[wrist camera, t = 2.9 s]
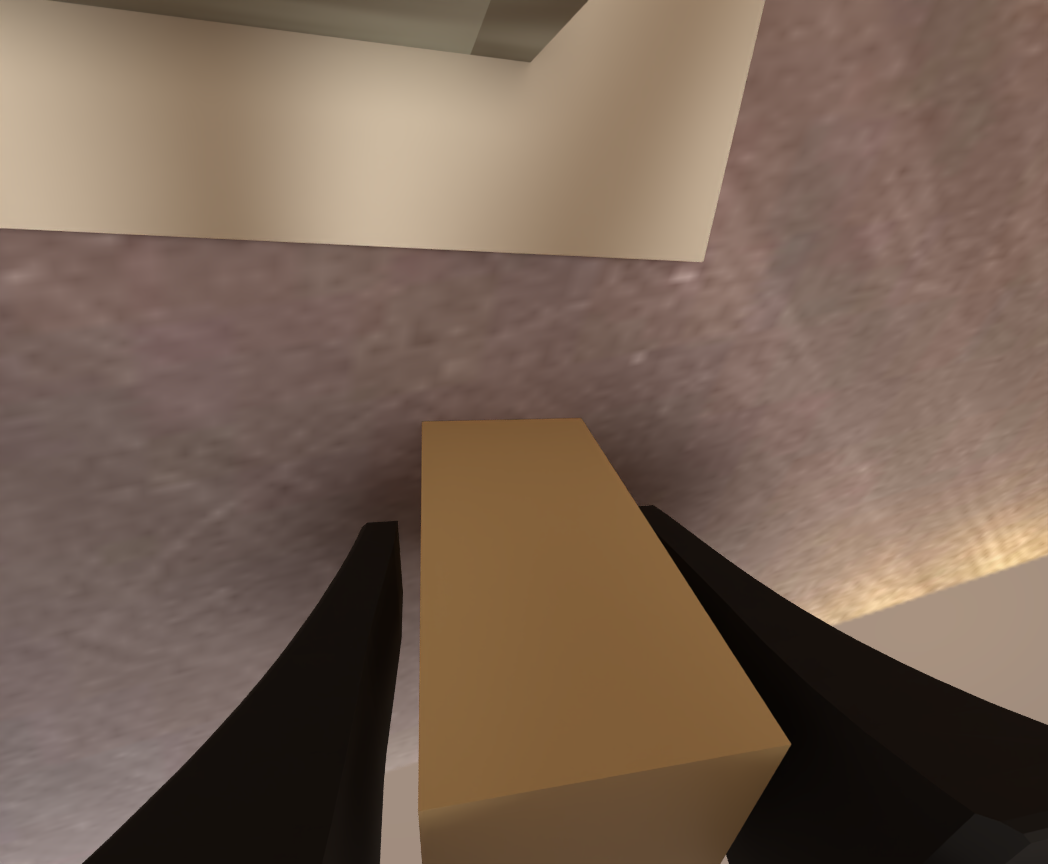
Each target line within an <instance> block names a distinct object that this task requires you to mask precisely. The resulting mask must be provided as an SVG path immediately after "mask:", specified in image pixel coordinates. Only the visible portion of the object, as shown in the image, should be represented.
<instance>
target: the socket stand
mask: <svg viewBox="0 0 1048 864" xmlns="http://www.w3.org/2000/svg"><path fill="white" fill-rule="evenodd" d="M764 3H765V0H0V228H10V229H30V230H51V231H72V232H92V233H113V234H133V235H154V236H175V237H195V238H216V239H237V240H257V241H278V242H299V243H319V244H340V245H361V246H381V247H402V248H423V249H443V250H464V251H485V252H505V253H526V254H547V255H567V256H588V257H609V258H629V259H650V260H671V261H691V262H703V261H704V257H705V252H706V248H707V244H708V240H709V235H710V231H711V227H712V223H713V219H714V214H715V210H716V206H717V202H718V197H719V193H720V189H721V185H722V181H723V176H724V172H725V168H726V164H727V159H728V155H729V151H730V147H731V143H732V138H733V134H734V130H735V126H736V121H737V117H738V113H739V109H740V105H741V100H742V96H743V92H744V88H745V83H746V79H747V75H748V71H749V66H750V62H751V58H752V54H753V50H754V45H755V41H756V37H757V33H758V28H759V24H760V20H761V16H762V12H763V7H764Z"/></svg>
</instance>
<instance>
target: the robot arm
mask: <svg viewBox="0 0 1048 864" xmlns="http://www.w3.org/2000/svg"><path fill="white" fill-rule="evenodd" d="M638 507H639V509H640V510H641V512H642V513H643V515H644V516H645V518H646V520H647V521H648V523H649V524H650V526H651V527H652V529H653V530H654V532H655V533H656V535H657V537H658V538H659V540H660V541H661V543H662V544H663V546H664V547H665V549H666V551H667V552H668V554H669V555H670V557H671V558H672V560H673V561H674V563H675V565H676V566H677V568H678V569H679V571H680V572H681V574H682V575H683V577H684V578H685V580H686V582H687V583H688V585H689V586H690V588H691V589H692V591H693V592H694V594H695V596H696V597H697V599H698V600H699V602H700V603H701V605H702V606H703V608H704V610H705V611H706V613H707V614H708V616H709V617H710V619H711V620H712V622H713V623H714V625H715V627H716V628H717V630H718V631H719V633H720V634H721V636H722V637H723V639H724V641H725V642H726V644H727V645H728V647H729V648H730V650H731V651H732V653H733V655H734V656H735V658H736V659H737V661H738V662H739V664H740V665H741V667H742V668H743V670H744V672H745V673H746V675H747V676H748V678H749V679H750V681H751V682H752V684H753V686H754V687H755V689H756V690H757V692H758V693H759V695H760V696H761V698H762V700H763V701H764V703H765V704H766V706H767V707H768V709H769V710H770V712H771V713H772V715H773V717H774V718H775V720H776V721H777V723H778V724H779V726H780V727H781V729H782V731H783V732H784V734H785V735H786V737H787V738H788V740H789V741H790V743H791V746H790V747H789V749H788V751H787V752H786V754H785V756H784V757H783V759H782V761H781V763H780V764H779V766H778V768H777V769H776V771H775V773H774V774H773V776H772V778H771V779H770V781H769V783H768V784H767V786H766V788H765V789H764V791H763V793H762V794H761V796H760V798H759V800H758V801H757V803H756V805H755V806H754V808H753V810H752V811H751V813H750V815H749V816H748V818H747V820H746V821H745V823H744V825H743V826H742V828H741V830H740V831H739V833H738V835H737V837H736V838H735V840H734V842H733V843H732V845H731V847H730V848H729V850H728V852H727V853H726V855H727V859H728V862H729V864H1048V725H1046V724H1044V723H1041V722H1039V721H1036V720H1033V719H1031V718H1028V717H1026V716H1023V715H1021V714H1018V713H1015V712H1013V711H1010V710H1007V709H1005V708H1002V707H1000V706H997V705H995V704H993V703H990V702H988V701H985V700H983V699H981V698H978V697H976V696H974V695H972V694H969V693H967V692H964V691H962V690H960V689H958V688H956V687H953V686H951V685H949V684H946V683H944V682H942V681H940V680H937V679H935V678H933V677H931V676H929V675H926V674H924V673H922V672H920V671H918V670H916V669H914V668H912V667H909V666H907V665H905V664H903V663H901V662H899V661H897V660H895V659H893V658H891V657H889V656H887V655H885V654H883V653H881V652H879V651H877V650H875V649H873V648H871V647H869V646H867V645H865V644H863V643H861V642H860V641H857V640H856V639H854V638H852V637H850V636H848V635H846V634H845V633H843V632H841V631H839V630H837V629H836V628H834V627H832V626H830V625H829V624H827V623H825V622H824V621H822V620H820V619H818V618H817V617H815V616H813V615H811V614H810V613H808V612H806V611H805V610H803V609H801V608H800V607H798V606H796V605H795V604H793V603H791V602H790V601H788V600H787V599H785V598H783V597H782V596H780V595H779V594H777V593H776V592H774V591H773V590H771V589H770V588H768V587H767V586H765V585H764V584H762V583H761V582H759V581H758V580H756V579H755V578H753V577H752V576H750V575H749V574H747V573H746V572H744V571H743V570H742V569H740V568H739V567H737V566H736V565H734V564H733V563H732V562H730V561H729V560H727V559H726V558H725V557H723V556H722V555H721V554H719V553H718V552H716V551H715V550H714V549H712V548H711V547H710V546H708V545H707V544H706V543H704V542H703V541H702V540H700V539H699V538H698V537H696V536H695V535H694V534H692V533H691V532H690V531H688V530H687V529H686V528H684V527H683V526H682V525H680V524H679V523H678V522H676V521H675V520H673V519H672V518H671V517H669V516H668V515H667V514H665V513H664V512H662V511H661V510H659V509H658V508H657V507H655V506H653V505H652V506H638ZM402 604H403V588H402V574H401V561H400V547H399V533H398V521H389V522H373V523H367V524H365V525H364V526H363V527H362V529H361V531H360V533H359V535H358V537H357V539H356V541H355V543H354V545H353V547H352V549H351V551H350V552H349V554H348V556H347V558H346V559H345V561H344V563H343V565H342V566H341V568H340V570H339V571H338V573H337V575H336V576H335V578H334V579H333V581H332V582H331V584H330V586H329V587H328V589H327V590H326V592H325V593H324V595H323V596H322V598H321V600H320V601H319V603H318V604H317V606H316V607H315V609H314V610H313V611H312V613H311V614H310V616H309V617H308V618H307V620H306V621H305V623H304V624H303V625H302V627H301V628H300V629H299V631H298V632H297V634H296V635H295V636H294V638H293V639H292V641H291V642H290V643H289V645H288V646H287V647H286V649H285V650H284V651H283V652H282V654H281V655H280V656H279V658H278V659H277V660H276V661H275V663H274V664H273V665H272V666H271V668H270V669H269V670H268V671H267V673H266V674H265V675H264V676H263V678H262V679H261V680H260V681H259V682H258V683H257V685H256V686H255V687H254V688H253V689H252V691H251V692H250V693H249V694H248V695H247V697H246V698H245V699H244V700H243V701H242V702H241V703H240V705H239V706H238V707H237V708H236V709H235V710H234V711H233V712H232V713H231V715H230V716H229V717H228V718H227V719H226V720H225V721H224V722H223V723H222V725H221V726H220V727H219V728H218V729H217V730H216V731H215V732H214V733H213V734H212V736H211V737H210V738H209V739H208V740H207V741H206V742H205V743H204V744H203V745H202V746H201V747H200V748H199V750H198V751H197V752H196V753H195V754H194V755H193V756H192V757H191V758H190V759H189V760H188V761H187V762H186V763H185V764H184V765H183V766H182V767H181V768H180V769H179V770H178V771H177V772H176V773H175V774H174V775H173V776H172V777H171V778H170V779H169V780H168V781H167V782H166V783H165V784H164V785H163V786H162V787H161V788H160V789H159V790H158V791H157V792H156V793H155V794H154V795H153V796H152V797H151V798H150V799H149V800H148V801H147V802H146V803H145V804H144V805H143V806H142V807H141V808H140V809H139V810H138V811H137V812H136V813H135V814H134V815H132V816H131V817H130V818H129V819H128V820H127V821H126V822H125V823H124V824H123V825H122V826H121V827H120V828H119V829H118V830H117V831H116V832H115V833H114V834H113V835H112V836H111V837H110V838H109V839H108V840H107V841H106V842H105V843H104V844H103V845H102V846H100V847H99V848H98V849H97V850H96V851H95V852H94V853H93V854H92V855H91V856H90V857H89V858H88V859H87V860H85V861H84V862H83V863H82V864H380V849H381V848H380V847H381V827H382V808H383V787H384V774H385V763H386V753H387V745H388V737H389V730H390V722H391V715H392V707H393V700H394V692H395V685H396V677H397V669H398V662H399V654H400V646H401V638H402Z"/></svg>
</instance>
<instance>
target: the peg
mask: <svg viewBox="0 0 1048 864" xmlns="http://www.w3.org/2000/svg"><path fill="white" fill-rule="evenodd" d="M790 746H791V743H790V741H789V740H788V738H787V737H786V735H785V734H784V732H783V731H782V729H781V727H780V726H779V724H778V723H777V721H776V720H775V718H774V717H773V715H772V713H771V712H770V710H769V709H768V707H767V706H766V704H765V703H764V701H763V700H762V698H761V696H760V695H759V693H758V692H757V690H756V689H755V687H754V686H753V684H752V682H751V681H750V679H749V678H748V676H747V675H746V673H745V672H744V670H743V668H742V667H741V665H740V664H739V662H738V661H737V659H736V658H735V656H734V655H733V653H732V651H731V650H730V648H729V647H728V645H727V644H726V642H725V641H724V639H723V637H722V636H721V634H720V633H719V631H718V630H717V628H716V627H715V625H714V623H713V622H712V620H711V619H710V617H709V616H708V614H707V613H706V611H705V610H704V608H703V606H702V605H701V603H700V602H699V600H698V599H697V597H696V596H695V594H694V592H693V591H692V589H691V588H690V586H689V585H688V583H687V582H686V580H685V578H684V577H683V575H682V574H681V572H680V571H679V569H678V568H677V566H676V565H675V563H674V561H673V560H672V558H671V557H670V555H669V554H668V552H667V551H666V549H665V547H664V546H663V544H662V543H661V541H660V540H659V538H658V537H657V535H656V533H655V532H654V530H653V529H652V527H651V526H650V524H649V523H648V521H647V520H646V518H645V516H644V515H643V513H642V512H641V510H640V509H639V507H638V506H637V504H636V502H635V501H634V499H633V498H632V496H631V495H630V493H629V492H628V490H627V488H626V487H625V485H624V484H623V482H622V481H621V479H620V478H619V476H618V475H617V473H616V471H615V470H614V468H613V467H612V465H611V464H610V462H609V461H608V459H607V457H606V456H605V454H604V453H603V451H602V450H601V448H600V447H599V445H598V443H597V442H596V440H595V439H594V437H593V436H592V434H591V433H590V431H589V430H588V428H587V426H586V425H585V423H584V422H583V420H582V419H581V418H561V419H515V420H470V421H424V422H422V476H421V579H420V683H419V786H418V792H419V793H418V794H419V795H418V797H419V798H418V815H419V827H420V841H421V855H422V864H720V863H721V862H722V860H723V858H724V857H725V855H726V853H727V852H728V850H729V848H730V847H731V845H732V843H733V842H734V840H735V838H736V837H737V835H738V833H739V831H740V830H741V828H742V826H743V825H744V823H745V821H746V820H747V818H748V816H749V815H750V813H751V811H752V810H753V808H754V806H755V805H756V803H757V801H758V800H759V798H760V796H761V794H762V793H763V791H764V789H765V788H766V786H767V784H768V783H769V781H770V779H771V778H772V776H773V774H774V773H775V771H776V769H777V768H778V766H779V764H780V763H781V761H782V759H783V757H784V756H785V754H786V752H787V751H788V749H789V747H790Z"/></svg>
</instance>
